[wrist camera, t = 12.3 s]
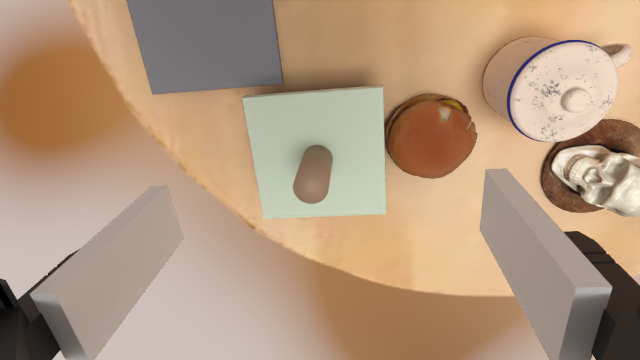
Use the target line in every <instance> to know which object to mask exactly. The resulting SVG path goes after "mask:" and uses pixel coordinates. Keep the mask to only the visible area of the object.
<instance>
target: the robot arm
mask: <svg viewBox="0 0 640 360" xmlns="http://www.w3.org/2000/svg"><path fill="white" fill-rule="evenodd" d="M480 231H481V233H482V235H483V237H484V239H485V241H486V243H487V244H488V246H489V248H490V250H491V252H492V254H493V256H494V257H495V259H496V261H497V263H498V265H499V267H500V269H501V270H502V272H503V274H504V276H505V278H506V280H507V282H508V283H509V285H510V287H511V289H512V291H513V293H514V295H515V296H516V298H517V300H518V302H519V304H520V306H521V307H522V309H523V311H524V313H525V315H526V317H527V319H528V320H529V322H530V324H531V326H532V328H533V330H534V332H535V334H536V336H537V337H538V339H539V341H540V343H541V345H542V347H543V349H544V350H545V352H546V354H547V356H548V358H549V360H591V357H592V354H593V356H594V357H595V359H596V360H640V285H638V284H637V282H636V281H635V280H634V279H633V278H632V277H631V276H630V275H629V274H628V273H627V272H626V271H625V270H624V269H623V268H622V267H621V266H620V265H619V264H616V263H615V260H614V259H613V258H612V257H611V256H610V255H609V254H606V251H605V250H604V249H603V248H602V247H601V246H600V245H599V244H598V243H597V242H596V241H594V240H593V239H591V238H589V237H587V236H586V235H584V234H582V233H580V232H578V231H572V232H563V231H562V230H561V229H560V228H559V227H558V226H557V224H556V223H555V222H554V221H553V220H552V219H551V218H550V217H549V216H548V214H547V213H546V212H545V211H544V210H543V209H542V208H541V207H540V206H539V204H538V203H537V202H536V201H535V200H534V199H533V198H532V197H531V195H530V194H529V193H528V192H527V191H526V190H525V189H524V188H523V187H522V185H521V184H520V183H519V182H518V181H517V180H516V179H515V178H514V177H513V175H512V174H511V173H510V172H509V171H508V170H507V169H488V170H486V171H485V181H484V191H483V201H482V211H481V221H480ZM182 240H183V235H182V232H181V229H180V225H179V222H178V219H177V216H176V212H175V209H174V205H173V202H172V199H171V196H170V192H169V189H168V186H151V187H150V188H148V189H147V190H146V191H145V192H144V193H143V194H142V195H141V196H140V197H138V198H137V199H136V200H135V201H134V202H133V203H132V204H130V205H129V206H128V207H127V208H126V209H125V210H124V211H123V212H121V213H120V214H119V215H118V216H117V217H116V218H115V219H114V220H112V221H111V222H110V223H109V224H108V225H107V226H106V227H104V228H103V229H102V230H101V231H100V232H99V233H98V234H97V235H95V236H94V237H93V238H92V239H91V240H90V241H89V242H88V243H87V244H85V245H84V246H83V247H82V248H81V249H79V250H77V251H75V252H74V253H72V254H70V255H69V256H67V257H66V258H65V259H64V260H63V261H62V262H61V263H60V264H58V265H57V267H55V268H54V269H52V270H51V271H50V272H49V273H48V275H47V276H44V277H43V279H41V280H40V281H39V282H38V283H36V285H34V286H33V287H32V288H31V289H30V290H28V291H27V292H26V293H25V294H24V295H23V296H22V297H21V298H19V299H18V300H17V299H16V297H15V296H14V294H13V292H12V290H11V289H10V287H9V285H8V283H7V282H6V280H3V279H0V360H52V359H53V358H54V357H55V355H56V354H57V353H58V352H59V351H60V350H61V352H62V354H63V356H64V357H65V359H66V360H94V359H95V358H96V357H97V355H98V354H99V353H100V351H101V350H102V349H103V347H104V346H105V345H106V343H107V342H108V341H109V339H110V338H111V336H112V335H113V334H114V332H115V331H116V330H117V328H118V327H119V326H120V324H121V323H122V322H123V320H124V319H125V318H126V316H127V315H128V313H129V312H130V311H131V309H132V308H133V307H134V305H135V304H136V303H137V301H138V300H139V298H140V297H141V296H142V294H143V293H144V292H145V290H146V289H147V287H148V286H149V285H150V284H151V282H152V281H153V280H154V278H155V277H156V275H157V274H158V273H159V271H160V270H161V269H162V267H163V266H164V265H165V263H166V262H167V261H168V259H169V258H170V256H171V255H172V254H173V252H174V251H175V250H176V248H177V247H178V246H179V244H180V243H181V241H182Z"/></svg>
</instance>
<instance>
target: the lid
mask: <svg viewBox="0 0 640 360" xmlns="http://www.w3.org/2000/svg"><path fill="white" fill-rule="evenodd" d="M242 101H243V107H244V112H245V118H246V123H247V129H248V134H249V140H250V145H251V151H252V157H253V162H254V168H255V173H256V179H257V184H258V190H259V195H260V201H261V206H262V212H263V217H264V219H269V218H296V217H322V216H348V215H374V214H386V189H385V148H384V106H383V86H382V85H374V86H362V87H349V88H336V89H323V90H311V91H298V92H285V93H273V94H260V95H247V96H244V97H243V98H242Z"/></svg>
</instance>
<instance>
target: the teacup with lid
mask: <svg viewBox="0 0 640 360" xmlns="http://www.w3.org/2000/svg"><path fill="white" fill-rule="evenodd" d="M632 56H633V51H632V48H631V46H630V45H627V44H610V45H604V46H600V47H599V46H597V45H595V44H593V43H590V42H587V41H581V40H567V41H561V40H555V39H548V38H542V37H525V38H521V39H517V40H515V41H513V42H511V43H509V44H507V45H506V46H504V47H503V48H502V49H500V50H499V51H498V52H497V53H496V54H495V55H494V56H493V58H492V59H491V61H490V62H489V64H488V66H487V68H486V70H485V73H484V77H483V92H484V96H485V98H486V101H487V102H488V104H489V105H490V106H491V107H492V108H493V109H494V110H495V111H496V112H498V113H499V114H500V115H502V116H503V117H504V118H506V119H507V120H508V121H510V122H511V123H512V124H513V125H514V127H515V128H516V129H517V130H518V131H519V132H520V133H522V134H523V135H524V136H526V137H528V138H530V139H533V140H536V141H541V142H560V141H565V140H569V139H572V138H575V137H577V136H579V135H581V134H583V133H585V132H587V131H588V130H590V129H591V128H593V127H594V126H595V125H596V124H597V123H598V122H600V120H601V119H602V118H603V117H604V116H605V115H606V113H607V112H608V111H609V109H610V107H611V106H612V104H613V102H614V99H615V96H616V93H617V88H618V74H617V69H616V68H618V67H620V66H622V65H624V64H625V63H627V62H628V61H629V60H630V59H631V58H632Z"/></svg>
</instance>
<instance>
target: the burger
mask: <svg viewBox="0 0 640 360" xmlns="http://www.w3.org/2000/svg"><path fill="white" fill-rule="evenodd" d="M385 135H386V143H385V144H386V148H387V151H388V154H390V156H391V157H392V159H393V161H394V163H395V164H396V165H397V166H398V167H399V168H400V169H401V170H403V171H404V172H406V173H409V174H411V175H415V176H419V177H423V178H432V179H434V178H441V177H444V176H446V175H448V174H449V173H451V172H452V171H454V170H455V169H456V168H457V167H458V166H459V165H460V164H461V163H462V162H463V161H464V160H466V158H467V157H468V156H469V155H470V153H471V151H472V149H473V148H474V145H475V143H476V139H477V133H476V132H475V125H474V122H471V116H470V115H469V114H468V110H467V108H466V106H464V105H462V104H461V103H460V102H459V101H456V100H453V99H451V98H446V97H443V96H441V95H437V94H426V95H419V96H418V97H415V98H412V99H410V100H408V101H407V102H406V103H404V104H403V105H402V106H400V107H399V108H398V110H396V111H395V113H394V115H393V117H392V118H391V120H390V121H389V124H388V125H387V127H386V134H385Z"/></svg>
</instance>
